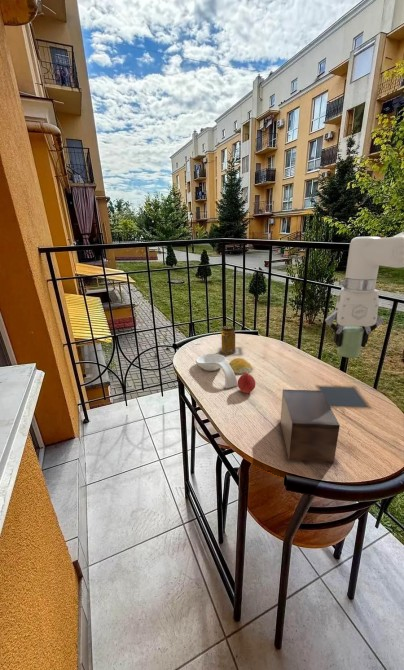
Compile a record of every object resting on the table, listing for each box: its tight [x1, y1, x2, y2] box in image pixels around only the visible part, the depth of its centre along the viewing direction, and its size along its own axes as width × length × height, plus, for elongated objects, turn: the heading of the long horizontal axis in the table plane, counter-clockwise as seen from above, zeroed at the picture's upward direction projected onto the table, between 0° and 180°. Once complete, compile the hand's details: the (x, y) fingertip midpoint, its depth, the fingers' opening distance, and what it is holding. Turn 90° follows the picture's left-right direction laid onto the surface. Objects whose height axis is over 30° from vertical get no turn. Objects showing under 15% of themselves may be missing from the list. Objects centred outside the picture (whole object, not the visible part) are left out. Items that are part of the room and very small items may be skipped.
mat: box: [319, 386, 368, 408], centre depth 89 cm, size 11×11×1 cm
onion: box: [237, 372, 256, 394], centre depth 92 cm, size 6×6×8 cm
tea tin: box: [336, 326, 364, 359], centre depth 82 cm, size 6×6×8 cm
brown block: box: [279, 389, 341, 464], centre depth 69 cm, size 10×14×11 cm
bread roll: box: [228, 357, 252, 375], centre depth 109 cm, size 8×9×4 cm
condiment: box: [221, 325, 236, 355], centre depth 123 cm, size 7×8×12 cm
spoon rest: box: [195, 353, 238, 389], centre depth 106 cm, size 24×12×7 cm, turn 24°
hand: (349, 344), depth 83 cm, fingers closed on tea tin, 6 cm apart
